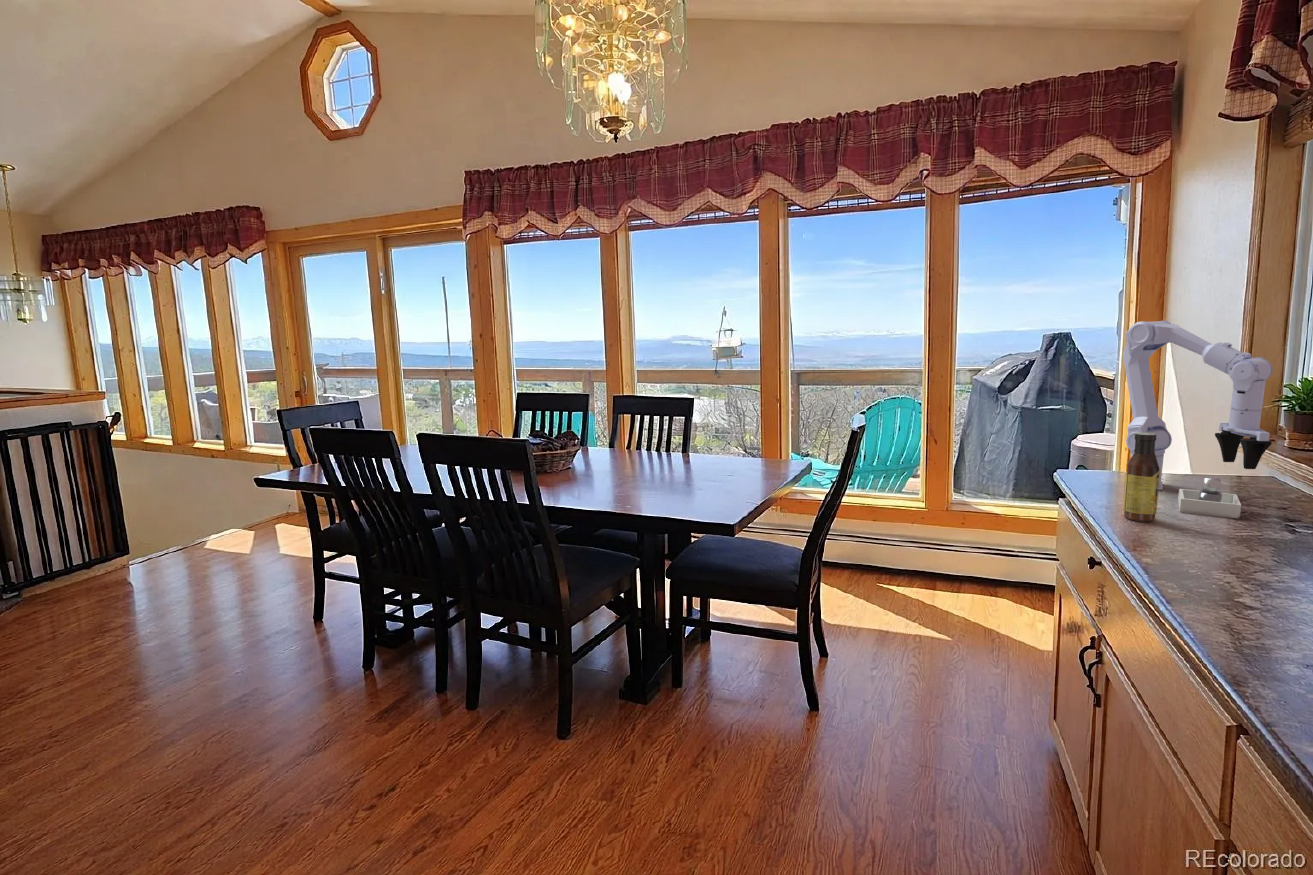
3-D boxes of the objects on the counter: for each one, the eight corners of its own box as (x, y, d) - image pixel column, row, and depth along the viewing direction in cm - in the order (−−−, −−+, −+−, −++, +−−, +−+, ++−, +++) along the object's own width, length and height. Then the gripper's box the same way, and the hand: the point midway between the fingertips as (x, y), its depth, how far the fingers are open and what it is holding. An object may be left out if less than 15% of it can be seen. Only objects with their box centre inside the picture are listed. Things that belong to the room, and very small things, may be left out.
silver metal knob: (1213, 504, 169) (1217, 476, 168) (1224, 509, 165) (1227, 480, 163) (1194, 504, 170) (1197, 476, 168) (1204, 509, 166) (1207, 480, 164)
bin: (1177, 501, 175) (1179, 488, 174) (1234, 507, 169) (1236, 494, 168) (1179, 511, 166) (1181, 498, 165) (1239, 518, 160) (1241, 505, 159)
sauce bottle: (1160, 523, 158) (1170, 436, 154) (1129, 522, 159) (1138, 436, 156) (1146, 515, 164) (1155, 431, 161) (1117, 514, 165) (1125, 431, 162)
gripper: (1208, 405, 174) (1201, 458, 176) (1248, 413, 160) (1240, 471, 162) (1239, 405, 173) (1233, 459, 175) (1282, 413, 159) (1274, 472, 161)
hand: (1238, 465), depth 169 cm, fingers open, 7 cm apart
